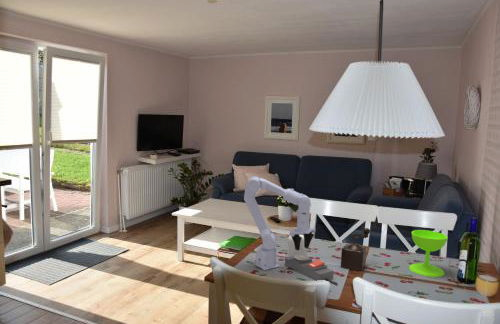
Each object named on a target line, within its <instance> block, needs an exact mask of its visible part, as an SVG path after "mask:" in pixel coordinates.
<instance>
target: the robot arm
mask: <svg viewBox="0 0 500 324" xmlns="http://www.w3.org/2000/svg"><path fill="white" fill-rule="evenodd" d="M244 188H245V189H244V195H243V200H244V202H245V204H246V206H247V208H248V211H249V213H250V214H251V217H252V219H253V221H254V223H255V226H256V227H257V229H258V232H259V234H260V237H261V240H262V245H261V248H259V249H258V250H256V253H255V264H254V265H255V267H258V268H259V269H262V270H263V271H267V270H271V269H275V268H279V267H280V266H281V265H280V264H278V263H277V251H278V250H277V248H278V247H277V246H276V245H277V243H276V242H277V235H276V234H275V233H274V232H273V231H272V229H271V228H270V226H269V225H268V223H267V221H266V219H265V216H264V214H263V213H262V210H261V208H260V206H259V204H258V202H257V200H256V198H255V197H256V195H257V192H258V191H259V190H260V191H264V190H268V191H271V192H273V193H275V194H278V195H280V196H282V197H283V198H282V199H283V200H285V201H286V202H288V203H290V204H293V205H295V206H298V210H297V219H296V229H294V230H291V231H289V236H291V237H292V239H293V241H294V245H295V249H296V250H299V249H300V242H301V239H302V237H300V236H299V235H304V247H305V248H307V250H308V249H310V248H309V247H310V244H311V242H312V240H313V238H314V237H315V234H314V233H316V228H314V227H310V217H311V216H310V215H311V212H310V210H311V206H312V204H311V199H310V197H309V196H307V195H306V194H303V193H300V192H298V191H295V189H294V188H286V189H285V188H283V187H282V186H280V185H277V184H276V183H273V182H271V181H269V180H267V179H265V178H264V177H259V176H257V175H252V176H251V177H249V179H248V181H247V182H246V185H245V187H244Z"/></svg>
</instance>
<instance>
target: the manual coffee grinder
mask: <svg viewBox="0 0 500 324" xmlns="http://www.w3.org/2000/svg"><path fill="white" fill-rule="evenodd" d="M362 232H363V235H362V236H357V233H353V236H352V238H353V242H352V243H350V244H349V243H346V244H345V245H344V246H343V247H342V248H341V254H340V255H341V256H340V268H342V269H348V270H353V271H357V272H362V271H363V270H364V269H365V268H366V264H367V262H366V260H367V246H363V245H362V244H361V245H360V244H359V243H356V242H357V241H356V239H367V238H369V234H370V233H371V229H370V228H367V227H364V228H362Z"/></svg>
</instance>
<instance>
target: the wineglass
mask: <svg viewBox="0 0 500 324" xmlns="http://www.w3.org/2000/svg"><path fill="white" fill-rule="evenodd" d="M411 238H412V240H413V242H414V245H415V246H417V247H418V248H419V249H421V250H423V251H425V254H424V263H422V262H419V263H412V264H410V265H409V266H408V269H409V271H411V272H412V273H415V274H417V275H420V276H425V277H430V278H439V277H443V276H445V271H444V270H443V269H442V268H440V267H438V266H436V265H433V264H430V256H431V252H436V251H438V250H441V249H443V247H445V246H446V243H447V242H448V236H447V235H446V234H444V233H442V232H438V231H433V230H428V229H427V230H425V229H424V230H423V229H417V230H416V229H415V230H412V231H411Z"/></svg>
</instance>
